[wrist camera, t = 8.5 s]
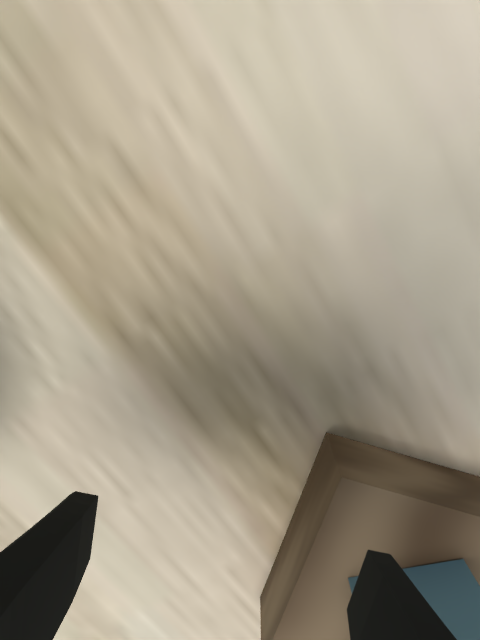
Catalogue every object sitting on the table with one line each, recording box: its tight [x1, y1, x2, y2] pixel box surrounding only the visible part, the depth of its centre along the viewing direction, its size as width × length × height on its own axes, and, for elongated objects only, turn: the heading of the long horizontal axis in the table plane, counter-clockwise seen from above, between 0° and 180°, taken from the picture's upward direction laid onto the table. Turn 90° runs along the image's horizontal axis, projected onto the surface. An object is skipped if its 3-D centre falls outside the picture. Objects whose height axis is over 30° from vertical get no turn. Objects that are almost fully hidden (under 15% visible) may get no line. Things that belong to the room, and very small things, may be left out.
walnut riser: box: [260, 432, 480, 640], centre depth 20 cm, size 11×11×4 cm
